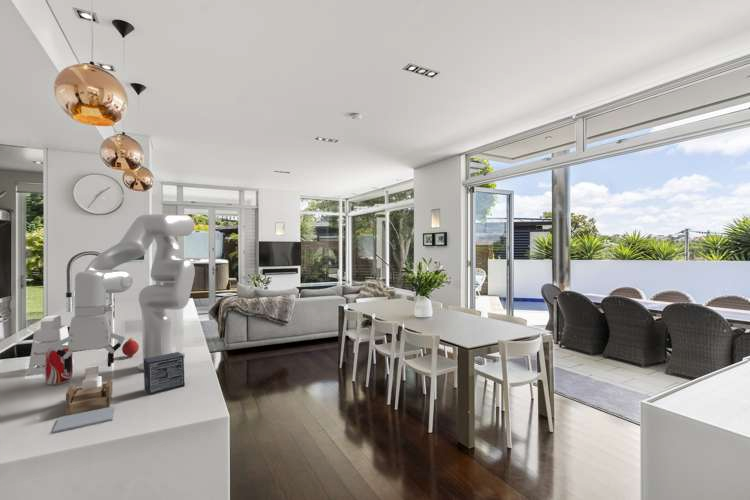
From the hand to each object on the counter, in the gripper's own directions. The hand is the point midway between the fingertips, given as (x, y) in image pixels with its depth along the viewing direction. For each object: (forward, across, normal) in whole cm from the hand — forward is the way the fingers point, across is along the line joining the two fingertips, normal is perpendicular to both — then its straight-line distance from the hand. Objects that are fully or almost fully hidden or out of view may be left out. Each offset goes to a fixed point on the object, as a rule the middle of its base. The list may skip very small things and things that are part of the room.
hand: (89, 368), depth 110 cm
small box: (+9, -20, +2) cm, 22 cm away
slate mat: (+10, -1, +16) cm, 19 cm away
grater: (+9, +15, -45) cm, 48 cm away
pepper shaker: (+10, -1, -1) cm, 10 cm away
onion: (+8, -10, -46) cm, 48 cm away
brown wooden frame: (+10, -1, +2) cm, 10 cm away
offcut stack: (+10, 0, +6) cm, 11 cm away
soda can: (+9, +10, -25) cm, 28 cm away
